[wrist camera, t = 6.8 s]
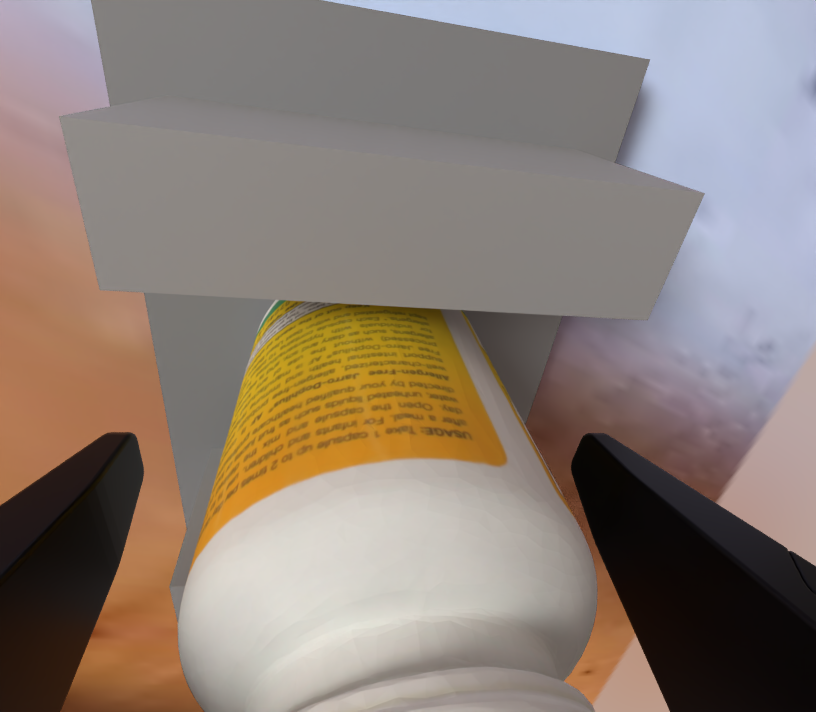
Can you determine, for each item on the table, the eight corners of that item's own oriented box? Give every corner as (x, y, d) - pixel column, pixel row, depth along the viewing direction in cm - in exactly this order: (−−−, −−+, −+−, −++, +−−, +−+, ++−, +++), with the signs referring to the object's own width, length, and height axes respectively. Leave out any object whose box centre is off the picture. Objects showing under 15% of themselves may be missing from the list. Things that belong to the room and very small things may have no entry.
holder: (482, 503, 17) (533, 644, 13) (196, 511, 15) (145, 681, 11) (623, 60, 10) (839, 57, 6) (109, -32, 8) (-134, -138, 4)
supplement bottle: (508, 335, 12) (870, 874, 4) (378, 459, 14) (449, 1013, 6) (344, 200, 10) (425, 886, 2) (211, 372, 11) (-74, 1120, 3)
